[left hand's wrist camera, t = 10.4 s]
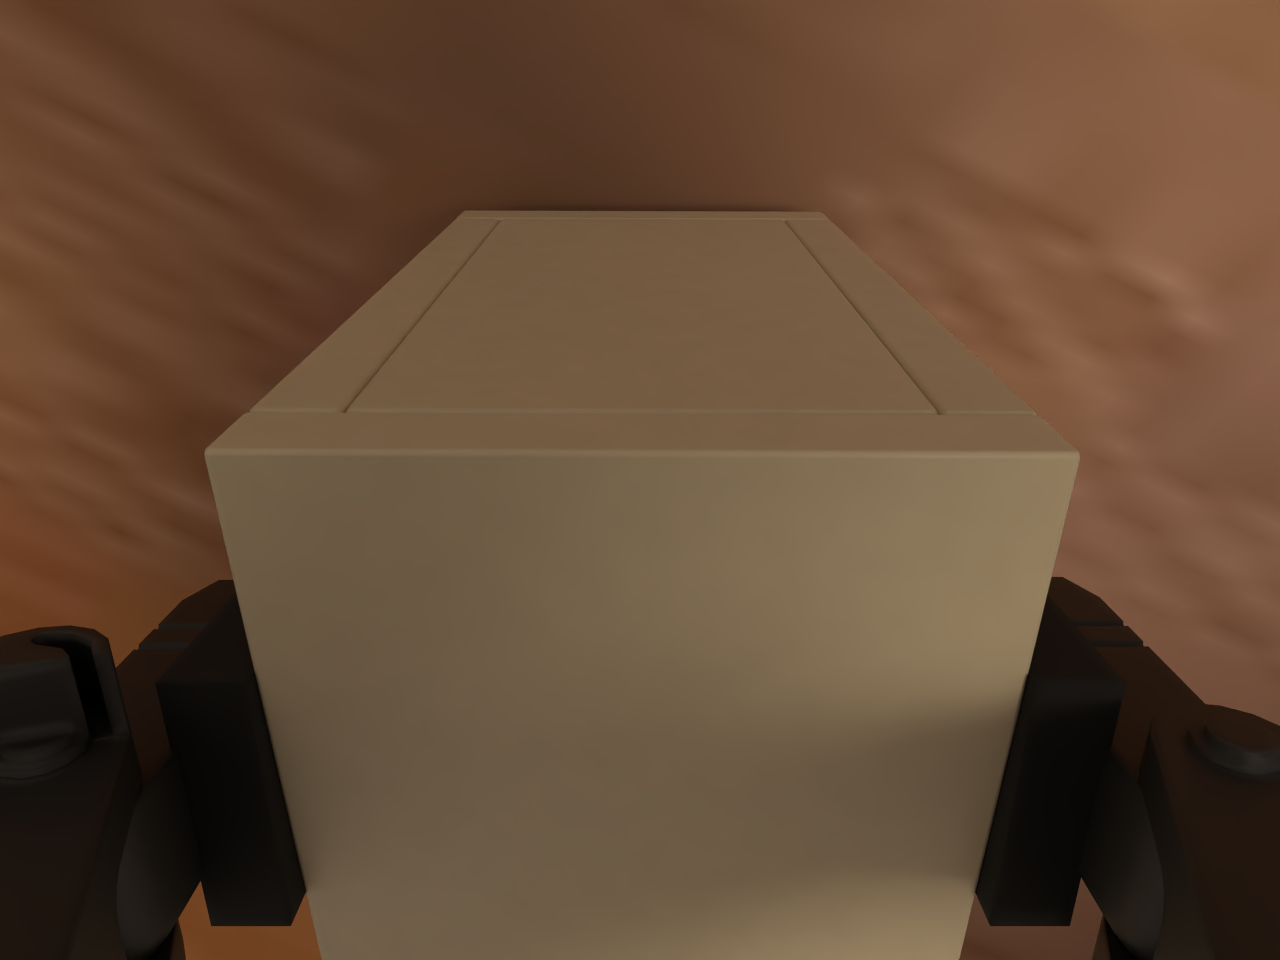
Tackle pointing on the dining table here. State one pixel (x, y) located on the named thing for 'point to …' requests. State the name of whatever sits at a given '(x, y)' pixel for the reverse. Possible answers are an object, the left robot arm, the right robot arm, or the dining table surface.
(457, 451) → the beige rectangular block
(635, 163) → the dining table surface
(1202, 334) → the dining table surface
